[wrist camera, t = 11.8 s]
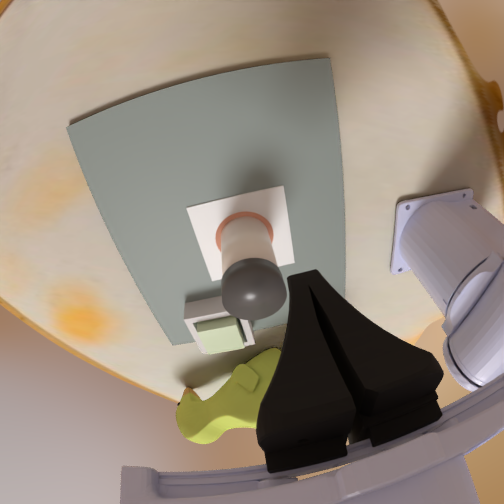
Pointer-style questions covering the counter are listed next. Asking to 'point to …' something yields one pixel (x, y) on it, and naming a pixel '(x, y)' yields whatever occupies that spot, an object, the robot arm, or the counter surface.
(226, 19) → the counter surface
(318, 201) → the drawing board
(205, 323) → the button
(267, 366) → the toy
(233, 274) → the jar with dark lid
